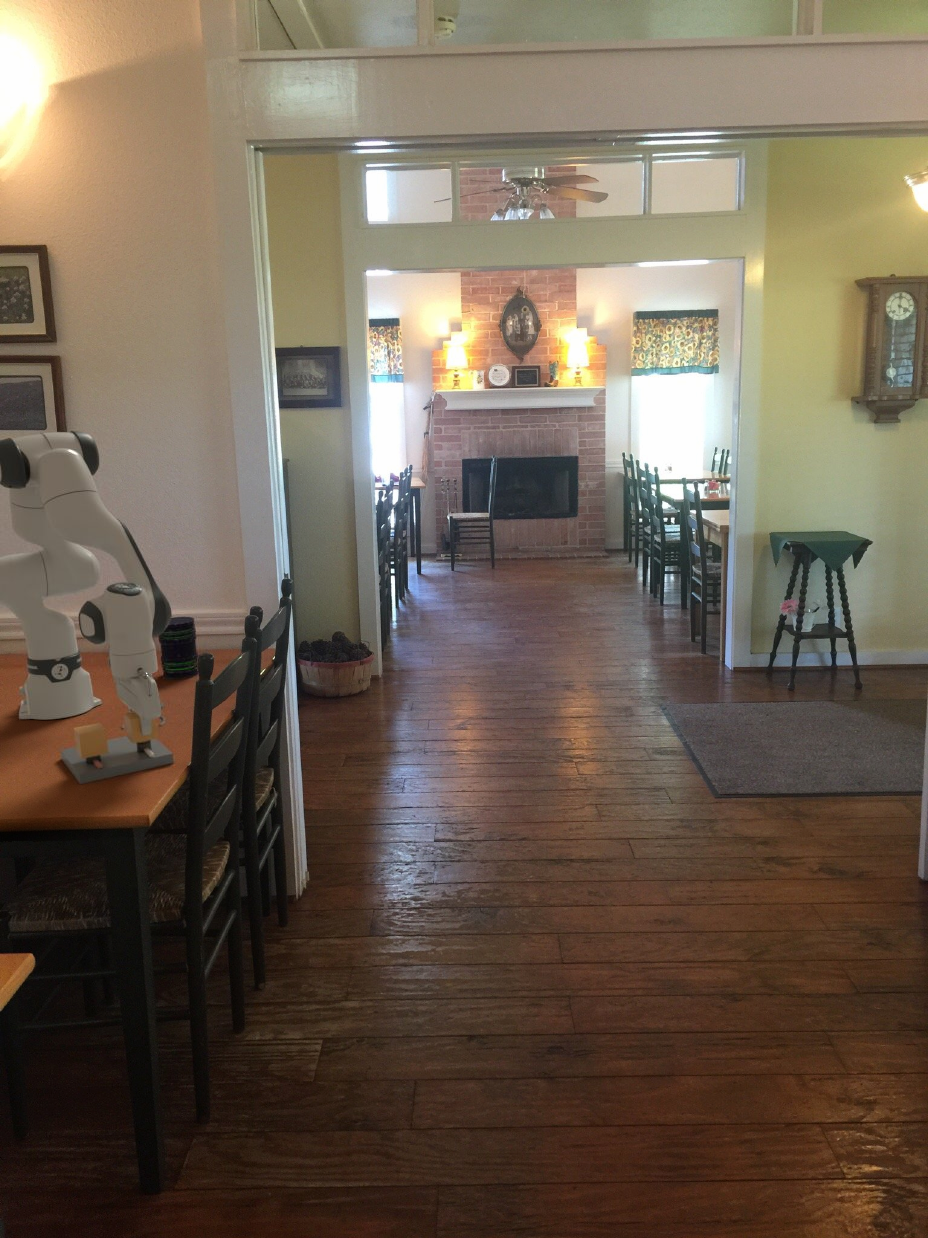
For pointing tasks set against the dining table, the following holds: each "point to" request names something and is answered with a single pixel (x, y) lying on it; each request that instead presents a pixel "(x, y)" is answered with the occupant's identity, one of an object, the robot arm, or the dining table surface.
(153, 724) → the tan wooden toy brick
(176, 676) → the storage jar
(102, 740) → the board
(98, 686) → the dining table surface
